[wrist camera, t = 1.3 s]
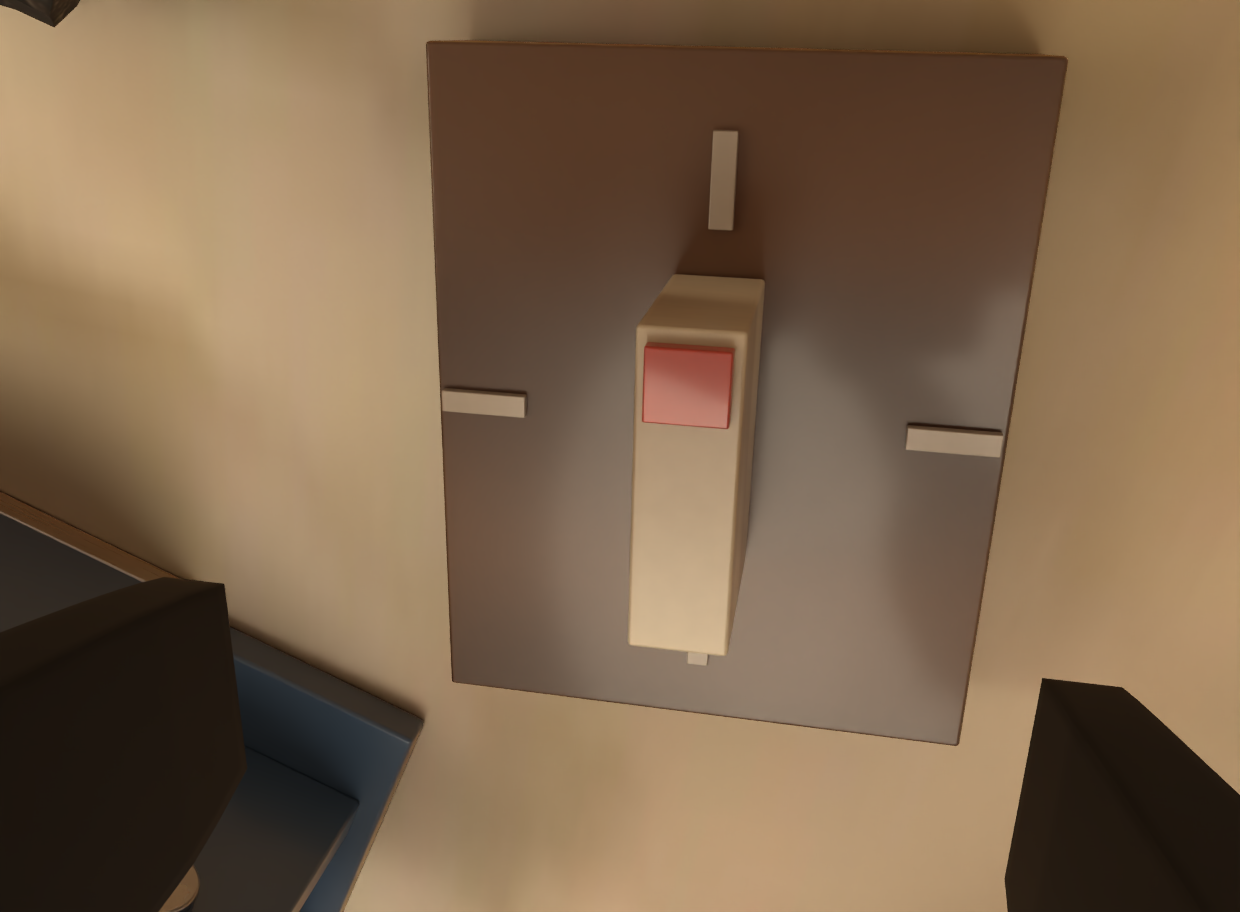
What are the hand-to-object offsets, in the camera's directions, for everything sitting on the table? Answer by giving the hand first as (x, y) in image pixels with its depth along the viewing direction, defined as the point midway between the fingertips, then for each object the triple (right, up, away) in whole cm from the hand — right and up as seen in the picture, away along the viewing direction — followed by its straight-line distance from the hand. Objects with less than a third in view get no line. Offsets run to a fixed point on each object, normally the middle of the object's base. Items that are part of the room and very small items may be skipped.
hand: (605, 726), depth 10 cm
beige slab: (+2, +3, +8) cm, 8 cm away
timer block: (+2, +4, +10) cm, 10 cm away
